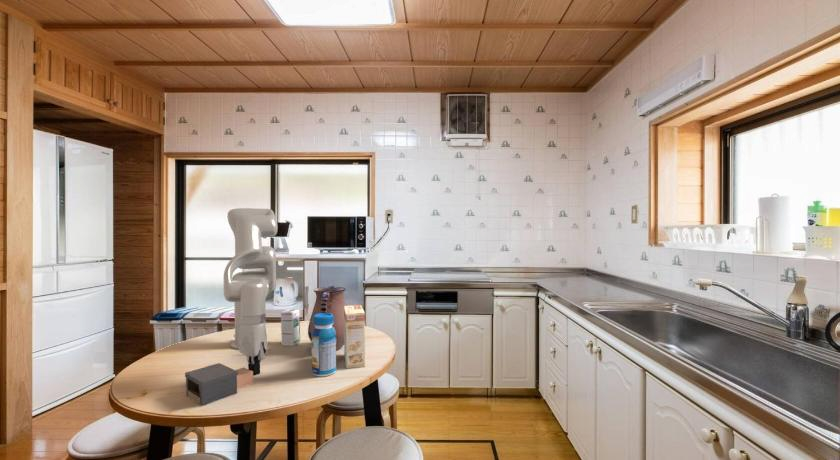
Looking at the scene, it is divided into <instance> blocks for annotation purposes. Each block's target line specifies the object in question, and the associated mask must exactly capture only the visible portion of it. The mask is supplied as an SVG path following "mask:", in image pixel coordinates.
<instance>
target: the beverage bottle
mask: <svg viewBox="0 0 840 460" xmlns="http://www.w3.org/2000/svg"><path fill="white" fill-rule="evenodd" d="M313 321H314V326H315V328H314V330H313V332H312V338H313V339H312V341H310V344H311V374H312V375H313V376H316V377H328V376H331V375H334V374H335V373H336V372H337V350H336V338H335V335H336V332H335V329H334V328H333V326H332V324H333V323H334V316H333V314H331V313H320V314H316V315H314V317H313Z"/></svg>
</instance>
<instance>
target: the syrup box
mask: <svg viewBox="0 0 840 460" xmlns="http://www.w3.org/2000/svg"><path fill="white" fill-rule="evenodd" d="M280 329H281V330H280V331H281V345H282V346H287V347H288V346H290V347H292V346H293V347H294V346H296V345H298V344H299V343H300V342H301V318H300V309H298V308H297V309H296V308H288V309H286V310H283V311H281V312H280Z"/></svg>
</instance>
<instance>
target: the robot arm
mask: <svg viewBox="0 0 840 460" xmlns="http://www.w3.org/2000/svg"><path fill="white" fill-rule="evenodd" d="M226 216H227V222H228V225H229V227H230V229H231V231H232V233H233V236H234V253H235V254H234V256H233V257H232V258H231V259H230V260H229V261H228V263H227V265H226V266H225V268H224V271H223V296H224V299H225V301H228V302H229V303H234V305H233V306H234V335H233V337H234V341H233V342H232V343H231V344H230V347H231V348H232V349H235V350H238V351H239V352H240V353H241V354H243V355H244V356H246V360H247V365H248V366H247V369H249V370H251V371H253V377H255V376H257V375H259V374H260V373H261V362H262V361H263V360H264V359H265V354H267V352H268V334H267V328H266V327H267V326H266V322H267V320H266V318H267V317H266V316H267V313H266V308H267V307H266V297H267V296H268V295H269V293H270V292H272V291H275V289H276V285H277V257H276V251H275V249H274V247H272V246H269V245H264V246H262V245H263V244H262V238H268V237H269V238H271V237H275V236H277V233H278V220H277V217H276V215H275V212H274V211H273V210H272V209H271V208H249V207H246V208H244V207H243V208H241V207H239V208H233V209H230V210H229V211H228V212H227V215H226ZM238 269H240V270H246V271H240V272H236V273H234V272H235V271H236V270H238ZM253 269H254V270H253ZM255 269H264V270H255ZM248 270H249V271H248ZM233 273H234V275H233Z"/></svg>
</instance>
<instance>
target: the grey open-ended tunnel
mask: <svg viewBox="0 0 840 460" xmlns="http://www.w3.org/2000/svg"><path fill="white" fill-rule="evenodd" d="M236 370H237V369H233V368H231V367H230V366H226V365H225V364H223V363H220V362H219V363H214V364H212V365H208V366H207V365H206V366H204V367H200V368H196V369H194V370H191V371H187V372H186V371H185V372H184V377H185V393H186V395H185V396H186V397H187V398H189V399H191V400H192V401H194V402H195V403H196V404H197V405H200V406H201V407H203V406H206V405H208V404H211V403H215V402H217V401H220V400H222V399H225V398H227V397H230V396H233V395H236V394H238V389H237V375H238V371H236ZM199 385H200V394H199Z"/></svg>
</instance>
